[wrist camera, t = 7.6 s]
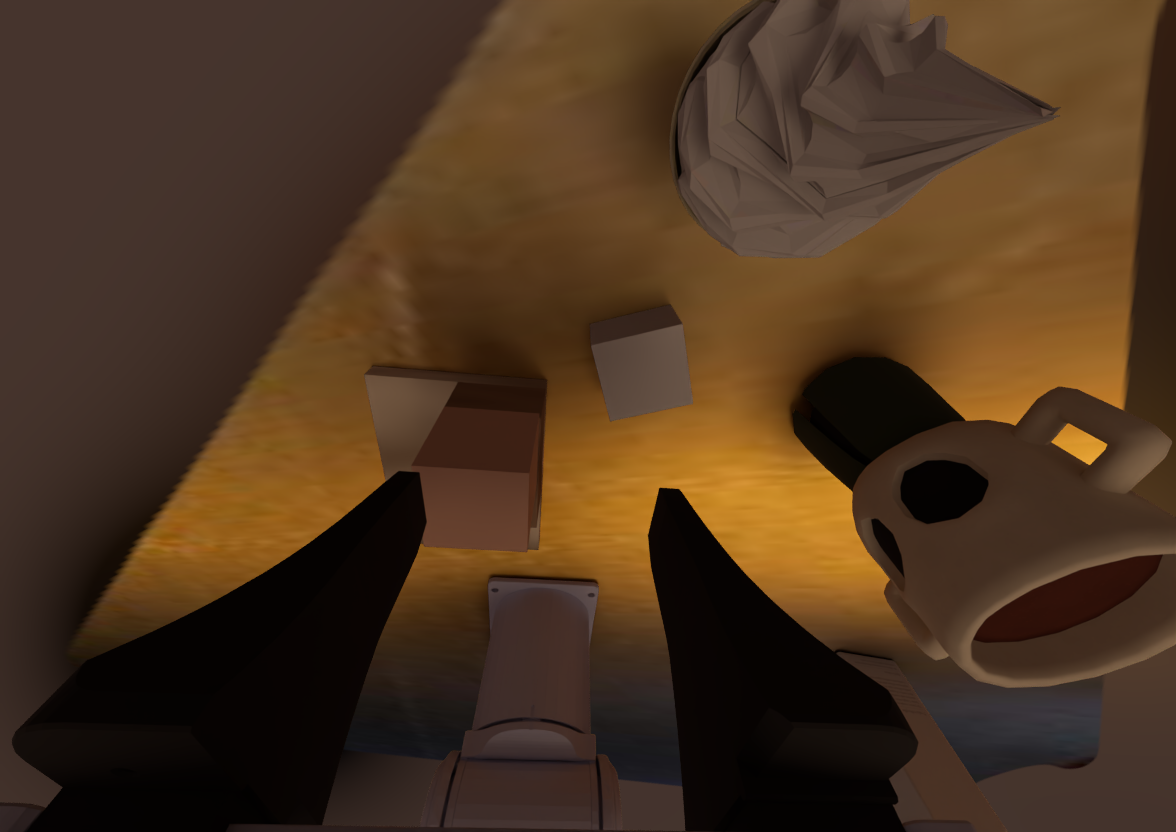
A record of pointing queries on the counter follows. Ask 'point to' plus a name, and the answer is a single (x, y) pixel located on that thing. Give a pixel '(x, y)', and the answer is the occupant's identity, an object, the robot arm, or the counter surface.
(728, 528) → the counter surface
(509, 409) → the walnut bar
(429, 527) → the terracotta cube
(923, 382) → the character mug
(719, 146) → the ice cream cone
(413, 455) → the birch board
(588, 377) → the counter surface
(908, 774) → the skincare box
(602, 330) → the grey block
